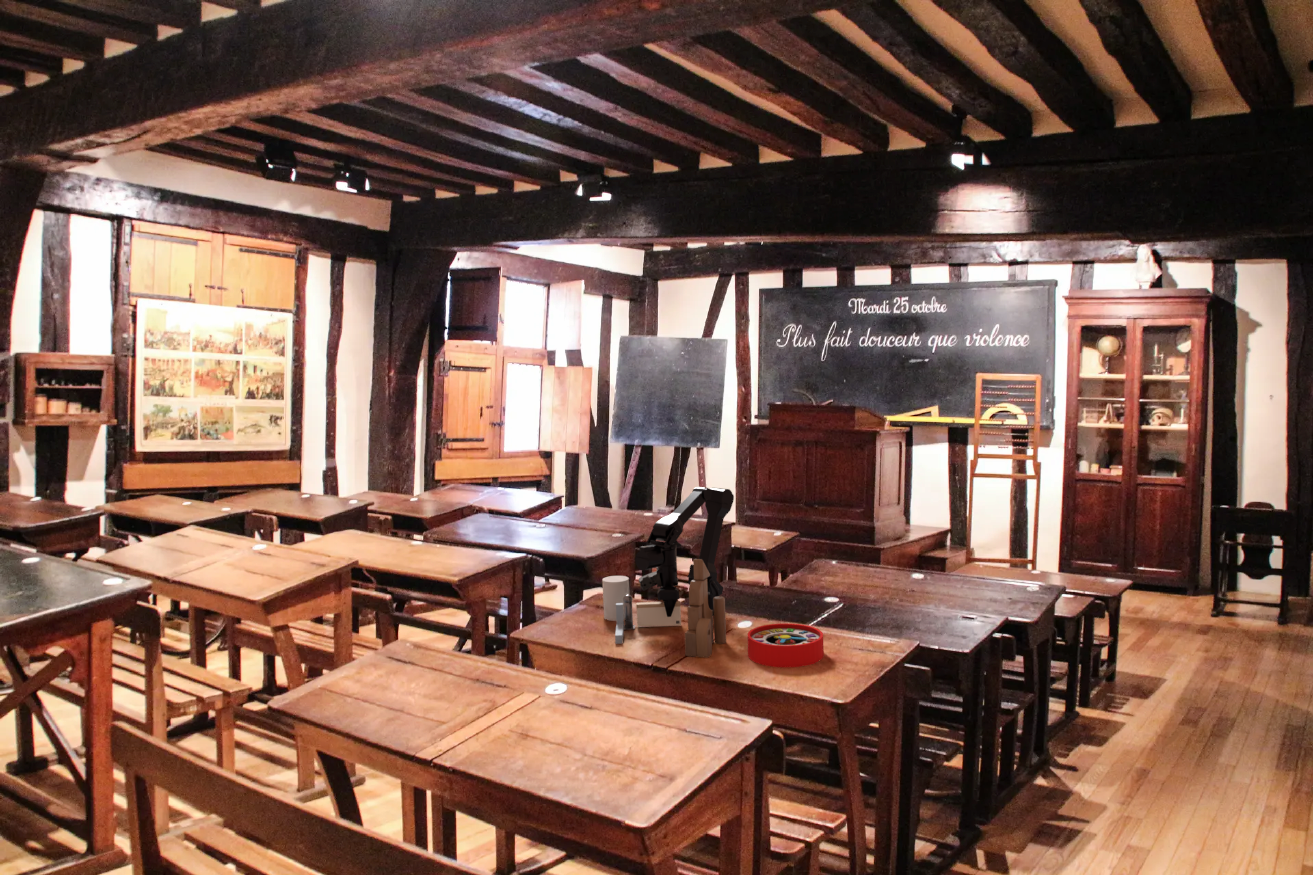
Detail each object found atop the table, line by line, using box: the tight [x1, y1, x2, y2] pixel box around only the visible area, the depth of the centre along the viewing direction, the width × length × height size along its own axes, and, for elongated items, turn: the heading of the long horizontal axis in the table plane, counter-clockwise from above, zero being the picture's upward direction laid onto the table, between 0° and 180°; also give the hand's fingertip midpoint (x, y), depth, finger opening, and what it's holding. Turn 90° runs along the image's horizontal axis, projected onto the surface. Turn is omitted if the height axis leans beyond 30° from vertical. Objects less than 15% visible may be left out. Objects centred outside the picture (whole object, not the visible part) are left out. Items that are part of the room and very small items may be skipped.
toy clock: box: [746, 622, 825, 668], centre depth 260 cm, size 20×6×20 cm
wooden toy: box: [684, 558, 727, 658], centre depth 267 cm, size 15×7×25 cm, turn 157°
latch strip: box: [614, 603, 625, 645], centre depth 281 cm, size 2×14×8 cm, turn 0°
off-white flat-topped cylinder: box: [601, 575, 630, 622], centre depth 301 cm, size 8×8×12 cm
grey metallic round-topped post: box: [623, 594, 636, 631], centre depth 290 cm, size 4×4×10 cm
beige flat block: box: [636, 600, 682, 628], centre depth 290 cm, size 13×2×7 cm, turn 90°
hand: (669, 615), depth 290 cm, fingers closed on beige flat block, 2 cm apart
